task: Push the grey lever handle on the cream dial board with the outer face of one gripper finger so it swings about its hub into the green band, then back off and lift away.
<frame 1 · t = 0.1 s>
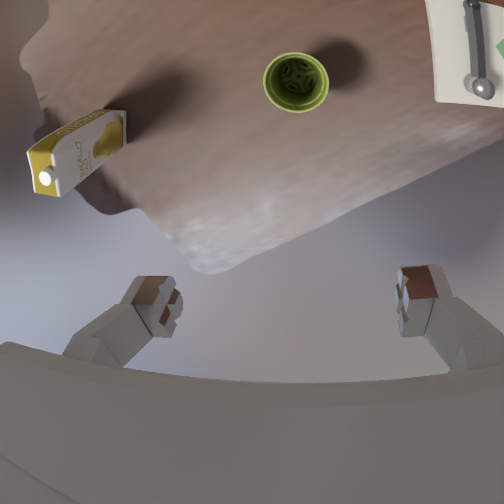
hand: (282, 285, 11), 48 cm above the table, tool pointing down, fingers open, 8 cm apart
plant pot: (298, 76, 48), on the table
juice carton: (114, 126, 58), on the table
grey lever handle: (477, 47, 33), point 5 cm above the table, hinge at 0.0°
dial board: (475, 51, 37), on the table
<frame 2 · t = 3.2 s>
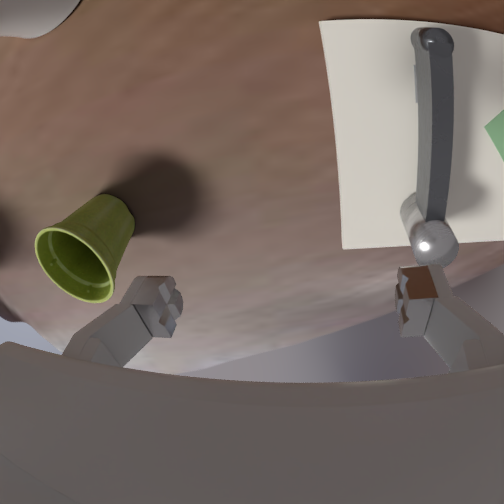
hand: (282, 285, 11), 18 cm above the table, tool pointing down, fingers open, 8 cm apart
plant pot: (112, 216, 34), on the table
grey lever handle: (435, 149, 19), point 5 cm above the table, hinge at 0.0°
dial board: (437, 138, 22), on the table
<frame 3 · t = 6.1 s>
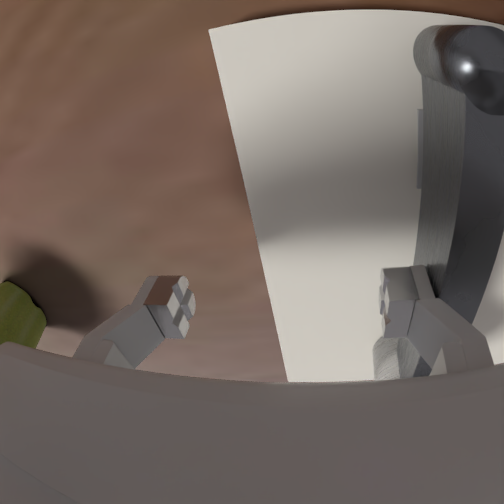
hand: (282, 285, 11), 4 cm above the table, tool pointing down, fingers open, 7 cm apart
plant pot: (24, 303, 25), on the table
grey lever handle: (442, 297, 10), point 5 cm above the table, hinge at 0.1°, touching gripper
dial board: (449, 237, 13), on the table
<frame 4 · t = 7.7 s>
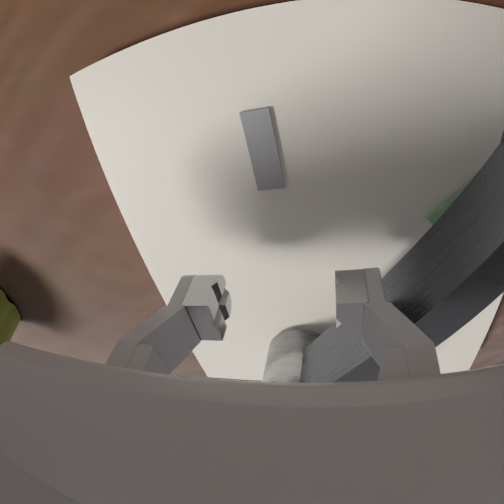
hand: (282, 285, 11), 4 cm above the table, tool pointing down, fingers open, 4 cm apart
plant pot: (2, 299, 27), on the table
grey lever handle: (395, 324, 11), point 5 cm above the table, hinge at 38.5°, touching gripper
dial board: (333, 238, 14), on the table
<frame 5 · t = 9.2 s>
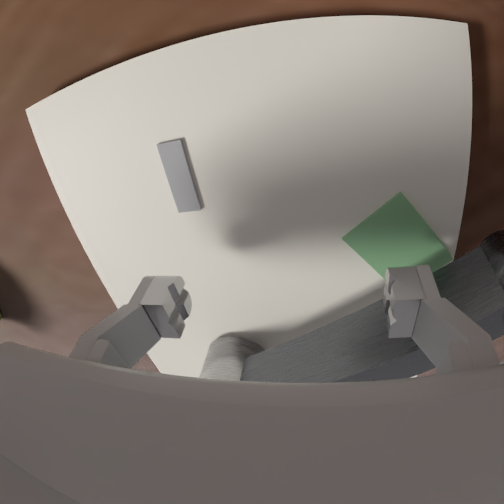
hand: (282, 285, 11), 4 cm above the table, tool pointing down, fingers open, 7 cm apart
grey lever handle: (340, 362, 12), point 5 cm above the table, hinge at 57.4°, touching gripper
dial board: (259, 253, 16), on the table
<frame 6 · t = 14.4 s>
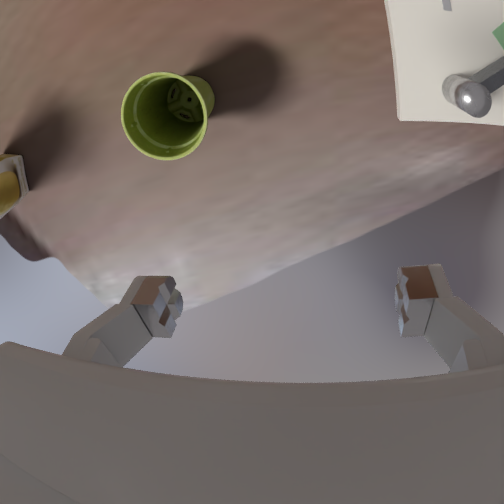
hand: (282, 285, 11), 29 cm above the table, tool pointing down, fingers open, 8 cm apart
plant pot: (191, 99, 35), on the table
juice carton: (16, 171, 46), on the table
dial board: (460, 40, 24), on the table
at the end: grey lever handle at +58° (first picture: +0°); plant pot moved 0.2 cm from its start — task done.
